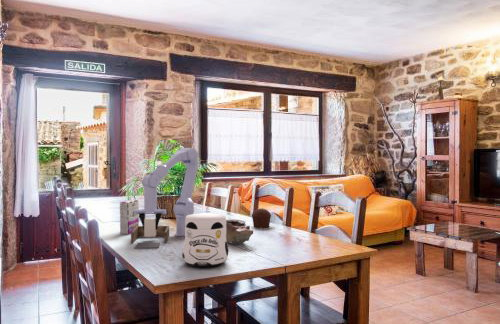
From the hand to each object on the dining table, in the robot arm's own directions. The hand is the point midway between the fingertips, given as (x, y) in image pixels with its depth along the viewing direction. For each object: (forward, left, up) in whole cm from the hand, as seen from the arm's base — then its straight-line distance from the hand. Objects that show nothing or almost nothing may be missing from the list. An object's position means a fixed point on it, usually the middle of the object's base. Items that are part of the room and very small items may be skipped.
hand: (150, 229), depth 187 cm
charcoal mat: (0, +10, -5) cm, 12 cm away
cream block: (0, 0, -3) cm, 3 cm away
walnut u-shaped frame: (0, -3, -5) cm, 6 cm away
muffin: (-58, -31, -6) cm, 66 cm away
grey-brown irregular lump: (-41, +7, -6) cm, 42 cm away
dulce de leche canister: (-25, +40, -6) cm, 48 cm away
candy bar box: (+13, -21, -6) cm, 25 cm away
